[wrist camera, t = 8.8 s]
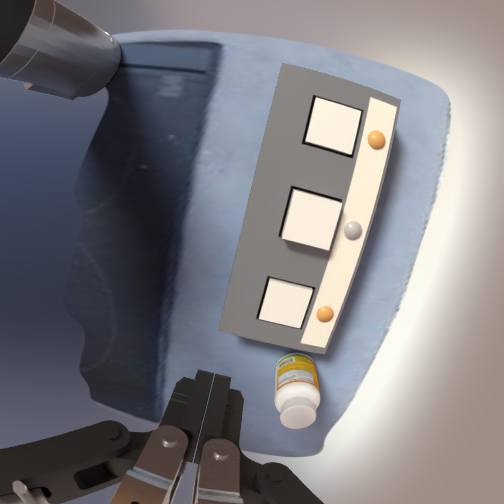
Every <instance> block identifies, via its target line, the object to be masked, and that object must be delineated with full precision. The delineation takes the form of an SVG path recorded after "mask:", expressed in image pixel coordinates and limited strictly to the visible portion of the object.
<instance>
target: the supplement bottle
mask: <svg viewBox="0 0 504 504" xmlns="http://www.w3.org/2000/svg"><path fill="white" fill-rule="evenodd" d="M274 401H275V406H276V408H277V410H278V411H279V412H280V421H281V423H282V424H283V425H284V426H286V427H288V428H292V429H301V428H305V427H308V426H310V425H311V424H312V423H313V422H314V421H315V419H316V409H317V408H318V406H319V404H320V391H319V384H318V377H317V371H316V366H315V363H314V361H313V359H312V358H311V357H310V356H308V355H306V354H303V353H290V354H287V355H285V356H283V357H282V358H281V359H280V360H279V361H278V362H277V364H276V368H275V395H274Z"/></svg>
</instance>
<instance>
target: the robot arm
mask: <svg viewBox="0 0 504 504" xmlns="http://www.w3.org/2000/svg"><path fill="white" fill-rule="evenodd" d="M120 59H121V49H120V45H119V43H118V41H117V40H116V39H114V38H113V37H112V36H111V35H109V34H108V33H107V32H104V31H103V30H101V29H100V28H99V27H97V26H96V25H94V24H92V23H91V22H89V21H88V20H86V19H84V18H83V17H82V16H80V15H78V14H77V13H75V12H74V11H72V10H70V9H68V8H67V7H65V6H64V5H62V4H60V3H58V2H57V1H55V0H0V77H1V78H6V79H11V80H16V81H21V82H24V86H25V88H26V89H27V90H30V91H35V92H39V93H44V94H49V95H53V96H57V97H61V98H65V99H69V100H73V99H75V98H76V97H78V96H79V97H81V96H82V97H85V96H90V95H92V94H95V93H97V92H98V91H100V90H101V89H102V88H104V87H105V86H106V85H107V84H108V83H109V81H110V80H111V79H112V78H113V76H114V74H115V73H116V71H117V68H118V66H119V63H120ZM213 376H214V373H211V372H207V371H203V370H199V369H198V371H197V374H196V377H195V380H193V379H190V378H186V377H183V378H182V379H181V380H180V381H178V382H177V383H176V386H175V388H174V391H173V393H172V396H171V399H170V401H169V403H168V406H167V408H166V411H165V413H164V416H163V418H162V421H161V423H160V425H159V426H158V427H157V428H156V429H155V430H153V431H150V432H143V433H142V432H141V433H140V432H129V431H128V429H127V428H126V427H125V426H124V425H123V424H121V423H119V422H116V421H111V420H108V421H103V422H100V423H97V424H94V425H91V426H87V427H84V428H81V429H78V430H75V431H71V432H68V433H65V434H61V435H58V436H54V437H50V438H46V439H43V440H39V441H35V442H31V443H27V444H23V445H18V446H14V447H9V448H5V449H0V504H60V503H63V502H66V501H70V500H73V499H76V498H79V497H82V496H85V495H88V494H90V493H93V492H96V491H99V490H101V489H104V488H106V487H109V486H111V485H114V484H116V483H119V482H121V483H120V485H119V487H118V489H117V491H116V493H115V494H114V497H113V498H112V500H111V502H110V504H172V501H173V498H174V496H175V493H176V491H177V488H178V485H179V483H180V480H181V477H182V474H183V473H184V471H185V468H186V464H187V461H188V462H192V461H193V457H194V452H195V449H196V444H197V441H198V437H199V433H200V429H201V425H202V421H203V417H204V413H205V409H206V405H207V401H208V397H209V393H210V388H211V384H212V380H213ZM230 381H231V377H227V376H223V375H219V374H215V377H214V381H213V385H212V389H211V393H210V397H209V401H208V405H207V409H206V413H205V417H204V421H203V425H202V429H201V433H200V438H199V442H198V446H197V451H196V455H195V459H194V463H196V464H198V468H197V472H196V476H195V481H194V489H193V497H192V504H324V503H323V502H322V501H321V500H319V498H318V497H316V496H315V495H314V494H313V493H312V492H311V491H310V490H309V489H308V488H307V487H306V486H305V485H304V484H303V483H302V482H301V481H300V480H299V478H298V477H297V476H296V475H295V474H293V472H292V471H291V470H290V469H289V468H288V467H286V466H285V465H283V464H280V463H276V462H270V463H266V464H263V465H262V464H259V463H257V462H255V461H252V460H250V459H249V458H247V457H246V456H245V455H244V454H243V453H242V452H241V450H240V447H239V438H240V429H241V421H242V412H243V403H244V399H243V396H242V394H241V392H240V391H238V390H234V389H230V388H229V387H230Z"/></svg>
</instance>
